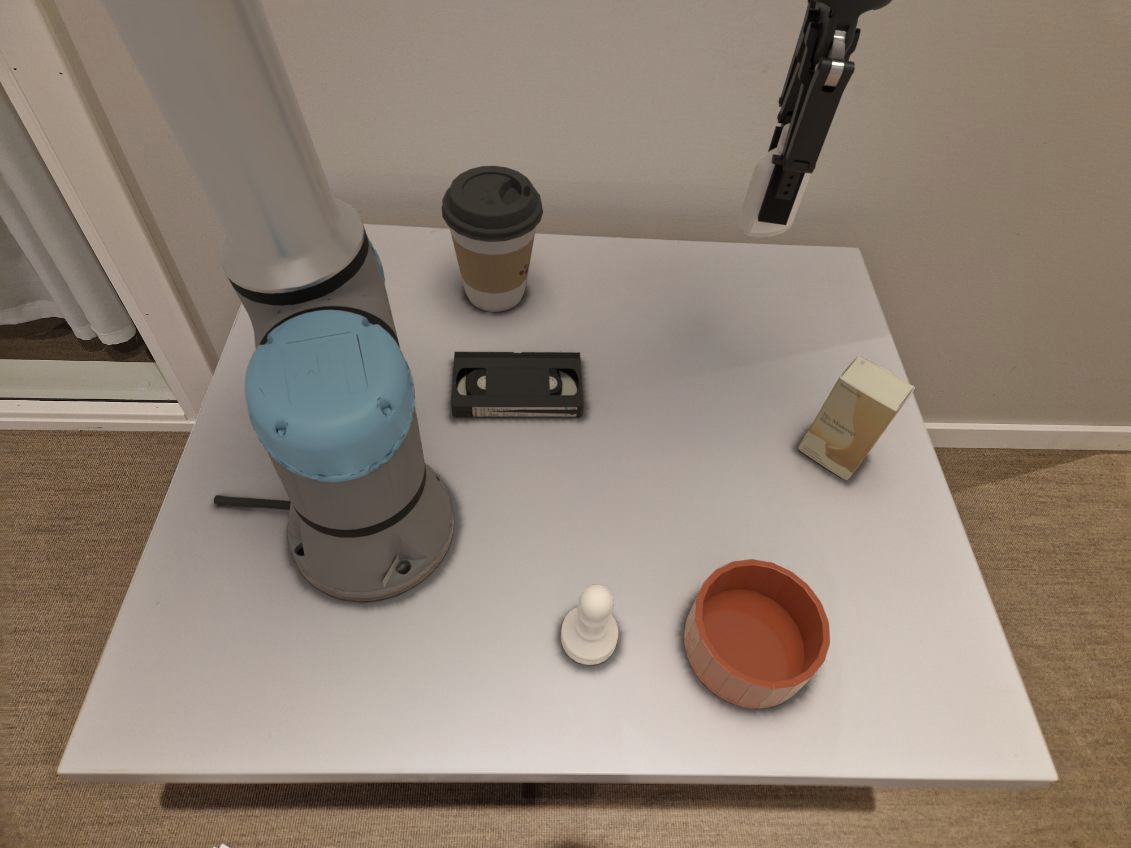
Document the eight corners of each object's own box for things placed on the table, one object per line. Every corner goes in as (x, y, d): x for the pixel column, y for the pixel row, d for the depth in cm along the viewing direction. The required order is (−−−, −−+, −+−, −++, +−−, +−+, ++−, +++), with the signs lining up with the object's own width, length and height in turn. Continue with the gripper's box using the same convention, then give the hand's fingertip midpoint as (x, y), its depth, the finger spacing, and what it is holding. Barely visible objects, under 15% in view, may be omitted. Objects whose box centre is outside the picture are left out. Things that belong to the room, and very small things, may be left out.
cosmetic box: (795, 450, 79) (835, 375, 69) (815, 426, 81) (855, 351, 71) (849, 484, 76) (897, 411, 67) (867, 459, 78) (917, 385, 69)
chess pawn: (558, 612, 66) (564, 567, 59) (613, 609, 66) (625, 565, 59) (562, 667, 63) (568, 627, 56) (619, 664, 63) (633, 624, 56)
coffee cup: (538, 326, 88) (542, 224, 76) (444, 322, 88) (433, 219, 76) (541, 264, 95) (545, 162, 83) (454, 260, 95) (445, 156, 83)
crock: (679, 695, 62) (692, 674, 58) (687, 577, 69) (699, 549, 65) (811, 719, 61) (833, 700, 57) (806, 597, 68) (826, 571, 64)
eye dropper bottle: (793, 244, 72) (836, 132, 63) (736, 236, 73) (771, 124, 63) (790, 217, 75) (831, 106, 66) (736, 210, 75) (768, 98, 66)
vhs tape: (452, 417, 79) (450, 406, 77) (455, 363, 84) (454, 351, 82) (582, 417, 80) (584, 406, 78) (578, 364, 85) (580, 352, 83)
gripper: (933, -9, 48) (814, 268, 66) (898, -99, 58) (804, 161, 77) (818, -24, 48) (732, 255, 67) (804, -111, 59) (733, 151, 77)
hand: (771, 204), depth 72 cm, fingers closed on eye dropper bottle, 4 cm apart
